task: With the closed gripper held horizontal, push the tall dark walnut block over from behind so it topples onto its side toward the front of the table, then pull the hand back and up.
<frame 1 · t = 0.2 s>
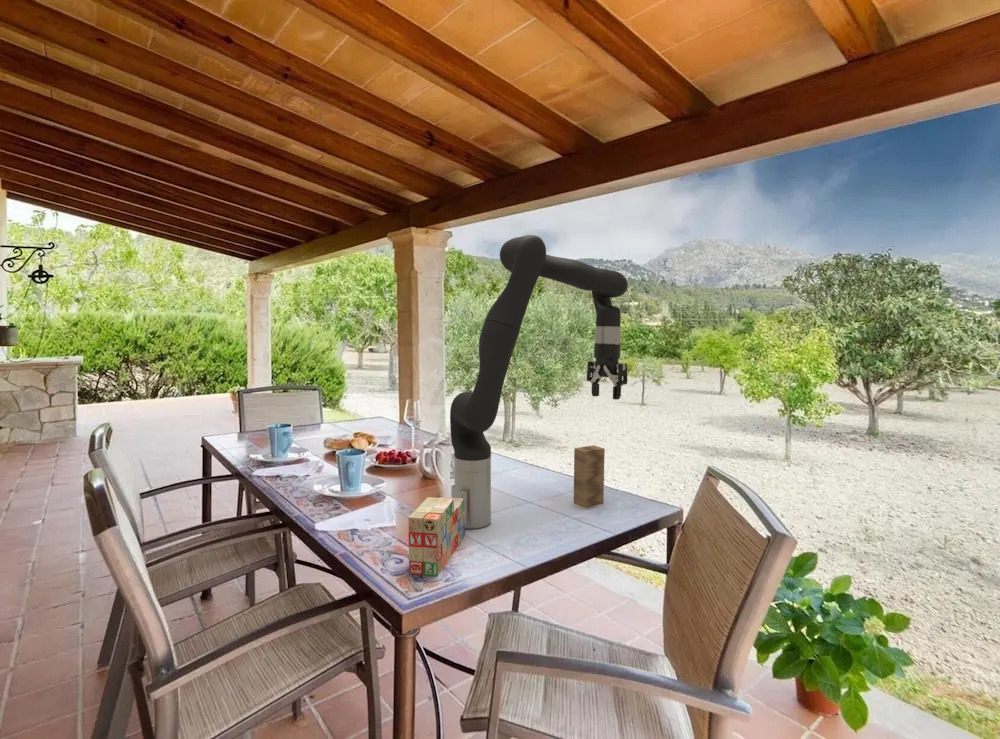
hand: (605, 397, 158), 29 cm above the table, tool pointing down, fingers open, 8 cm apart
stack of blocks: (439, 554, 120), on the table
walnut block: (588, 504, 151), on the table
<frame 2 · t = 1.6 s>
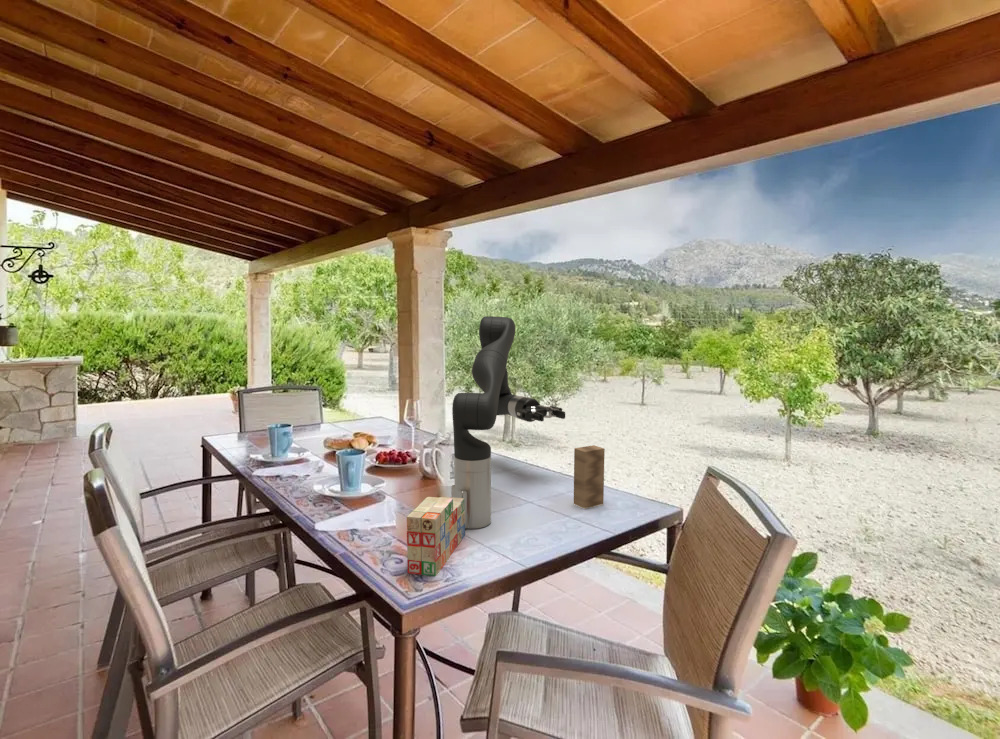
hand: (553, 416, 163), 22 cm above the table, tool horizontal, fingers open, 7 cm apart
nothing on the table moved.
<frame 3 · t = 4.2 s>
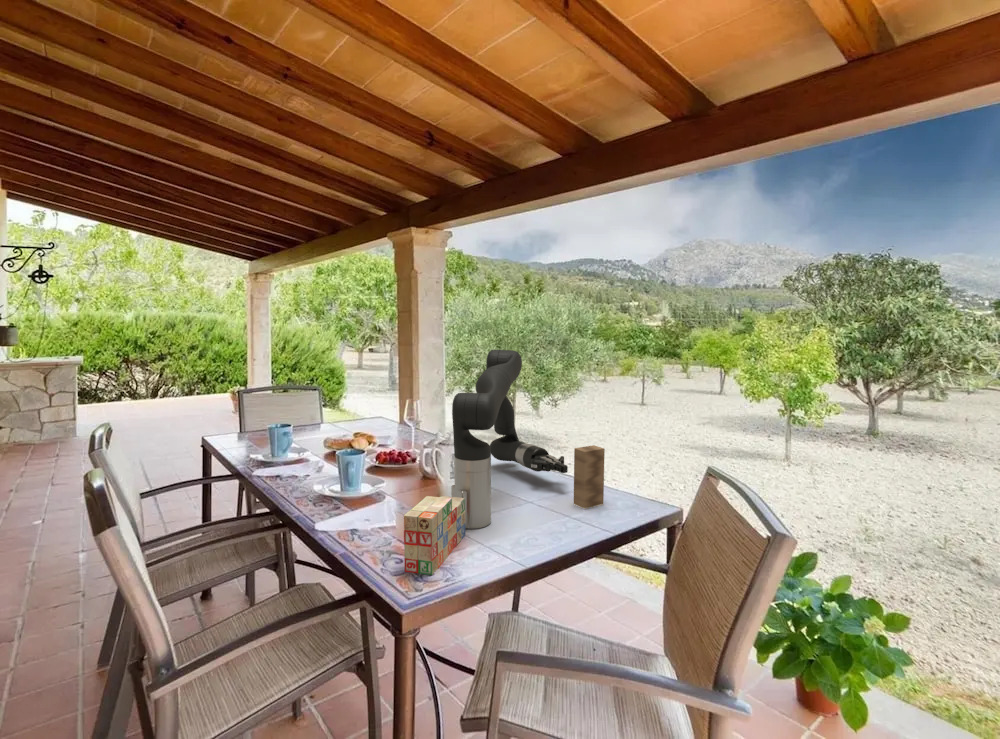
hand: (565, 469, 159), 7 cm above the table, tool horizontal, fingers closed
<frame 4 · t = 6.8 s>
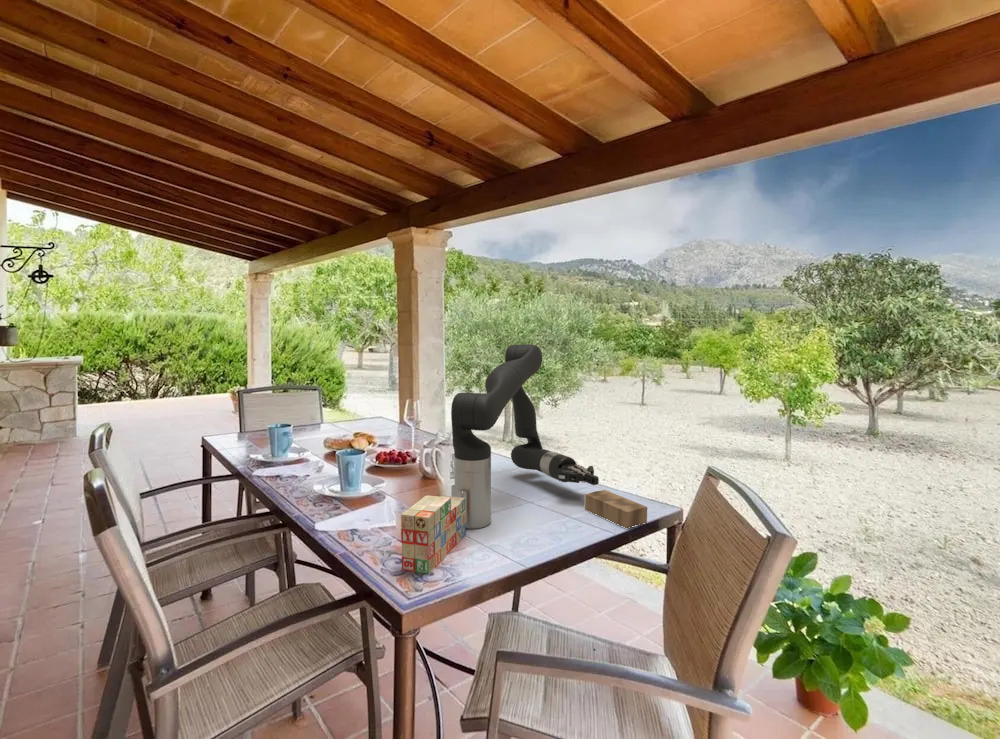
hand: (596, 481, 148), 8 cm above the table, tool horizontal, fingers closed
walnut block: (594, 499, 149), point 2 cm above the table, tilted 90°
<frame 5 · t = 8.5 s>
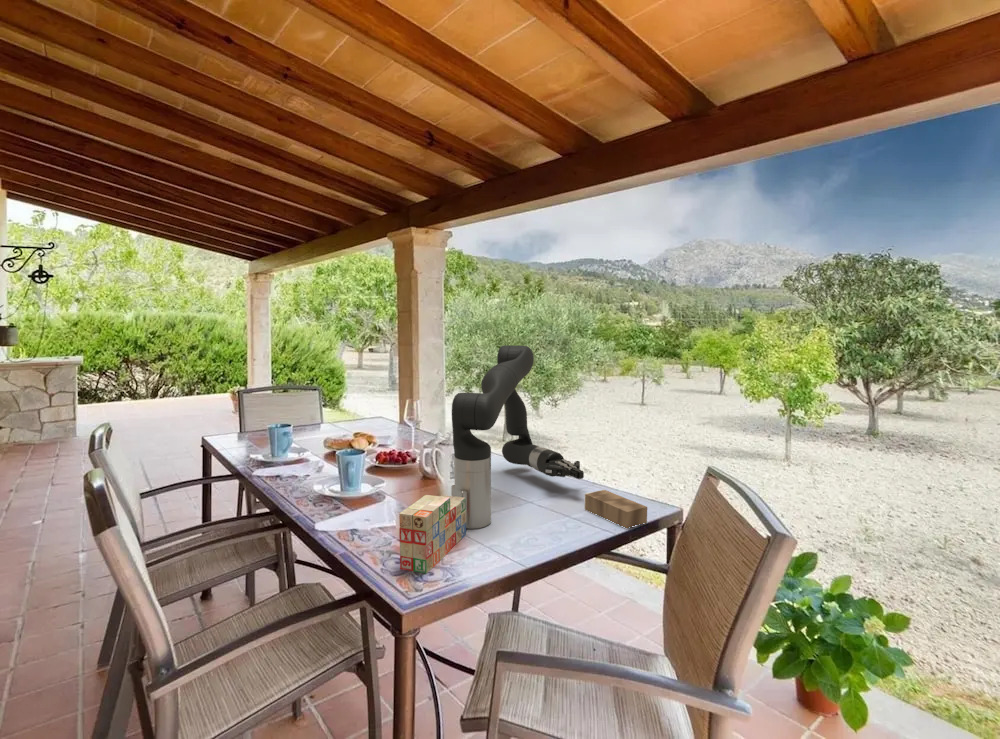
hand: (581, 475, 153), 7 cm above the table, tool horizontal, fingers closed
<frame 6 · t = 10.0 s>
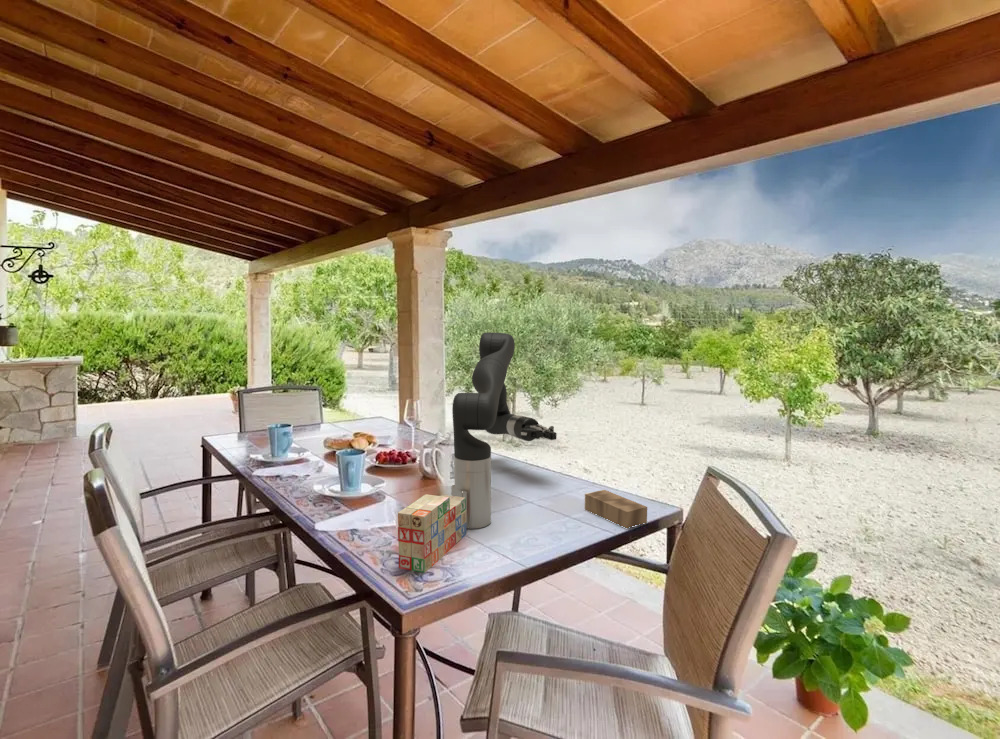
hand: (554, 436, 163), 16 cm above the table, tool horizontal, fingers closed
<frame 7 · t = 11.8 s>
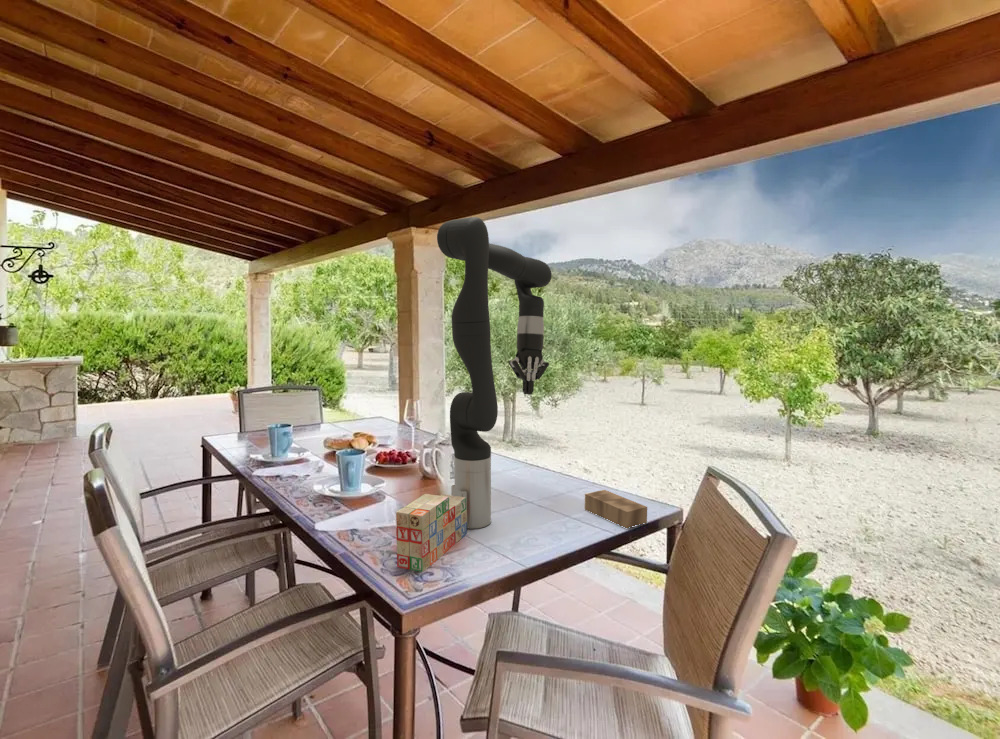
hand: (528, 394, 153), 30 cm above the table, tool pointing down, fingers closed
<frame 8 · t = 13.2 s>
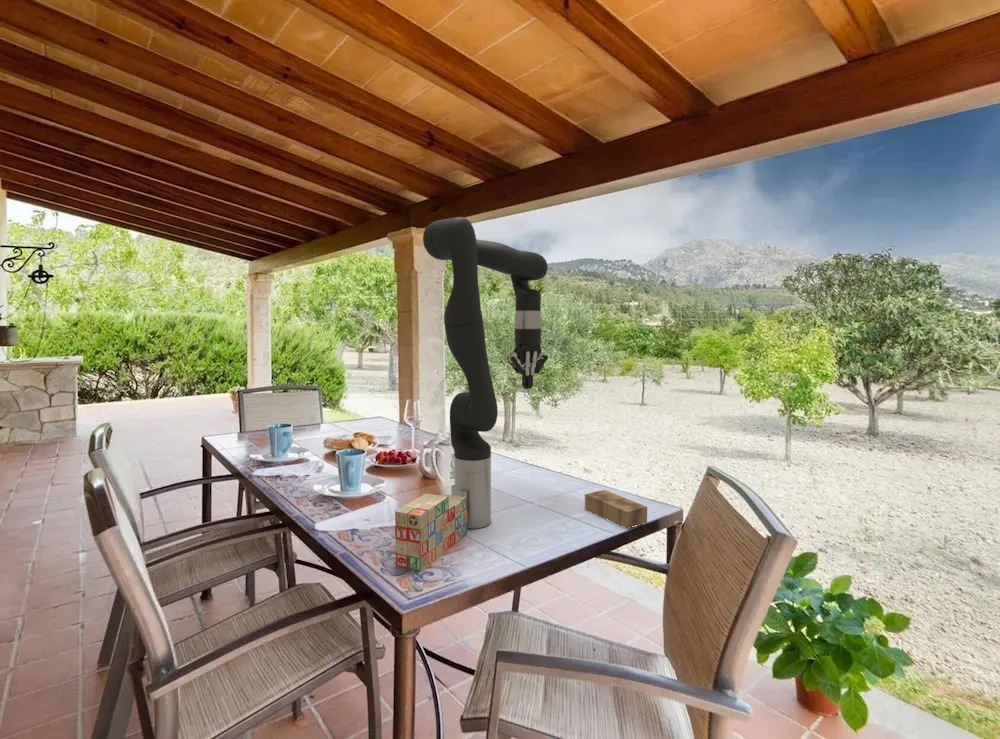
hand: (527, 388, 153), 32 cm above the table, tool pointing down, fingers closed
at the end: walnut block tilted 90°; walnut block inside the target area (1.0 cm from its centre), point 2.1 cm above the table; the gripper is holding nothing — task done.
